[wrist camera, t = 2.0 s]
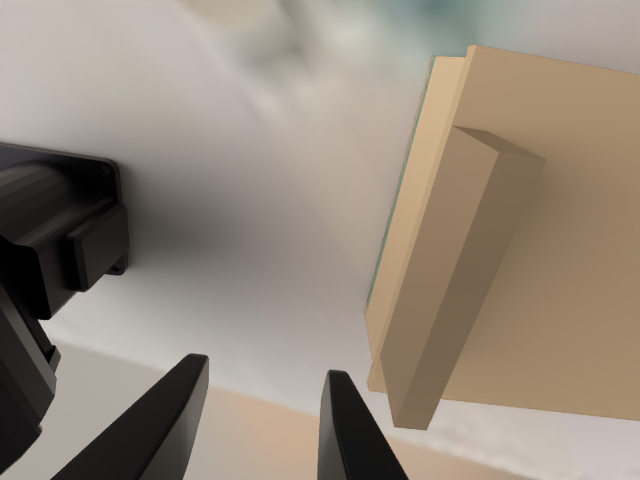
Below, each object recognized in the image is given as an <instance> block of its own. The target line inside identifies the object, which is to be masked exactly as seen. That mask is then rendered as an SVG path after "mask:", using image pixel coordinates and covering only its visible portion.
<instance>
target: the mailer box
mask: <svg viewBox="0 0 640 480" xmlns="http://www.w3.org/2000/svg"><path fill="white" fill-rule="evenodd" d="M464 61H465V57H443V56H432V58H431V62H430V66H429V69H428V73H427V77H426V81H425V84H424V88H423V92H422V96H421V99H420V103H419V107H418V111H417V115H416V118H415V122H414V126H413V130H412V133H411V137H410V141H409V145H408V148H407V152H406V156H405V160H404V163H403V167H402V171H401V175H400V178H399V182H398V186H397V190H396V193H395V197H394V201H393V205H392V208H391V212H390V216H389V220H388V223H387V227H386V231H385V235H384V238H383V242H382V246H381V250H380V254H379V257H378V261H377V265H376V269H375V272H374V276H373V280H372V284H371V287H370V291H369V295H368V299H367V302H366V306H365V310H364V314H365V319H366V325H367V331H368V337H369V343H370V349H371V355H372V360H374V357H375V353H376V350H377V347H378V344H379V340H380V337H381V334H382V330H383V327H384V324H385V320H386V317H387V314H388V311H389V307H390V304H391V301H392V297H393V294H394V291H395V288H396V284H397V281H398V278H399V274H400V271H401V268H402V265H403V261H404V258H405V255H406V251H407V248H408V245H409V242H410V238H411V235H412V232H413V228H414V225H415V222H416V218H417V215H418V212H419V209H420V205H421V202H422V199H423V195H424V192H425V189H426V186H427V182H428V179H429V176H430V172H431V169H432V166H433V163H434V159H435V156H436V153H437V149H438V146H439V143H440V140H441V136H442V133H443V130H444V126H445V123H446V120H447V116H448V113H449V110H450V107H451V103H452V100H453V97H454V93H455V90H456V87H457V84H458V80H459V77H460V74H461V70H462V67H463V64H464Z"/></svg>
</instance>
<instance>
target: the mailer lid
mask: <svg viewBox="0 0 640 480" xmlns="http://www.w3.org/2000/svg"><path fill="white" fill-rule="evenodd" d="M367 383H368V390H369V391H373V392H382V393H387V394H388V399H389V404H390V409H391V414H392V419H393V424H394V427H398V428H408V429H417V430H427V428H428V426H429V423H430V421H431V419H432V417H433V414H434V412H435V410H436V408H437V406H438V403H439V401H440V399H445V400H455V401H464V402H473V403H482V404H491V405H500V406H509V407H518V408H527V409H536V410H545V411H554V412H563V413H572V414H581V415H590V416H599V417H608V418H617V419H626V420H635V421H640V75H637V74H631V73H626V72H620V71H615V70H610V69H604V68H599V67H593V66H588V65H582V64H577V63H572V62H566V61H561V60H555V59H550V58H545V57H539V56H534V55H528V54H523V53H517V52H512V51H507V50H501V49H496V48H490V47H485V46H479V45H469V47H468V51H467V54H466V57H465V61H464V64H463V67H462V70H461V74H460V77H459V80H458V84H457V87H456V90H455V93H454V97H453V100H452V103H451V107H450V110H449V113H448V116H447V120H446V123H445V126H444V130H443V133H442V136H441V140H440V143H439V146H438V149H437V153H436V156H435V159H434V163H433V166H432V169H431V172H430V176H429V179H428V182H427V186H426V189H425V192H424V195H423V199H422V202H421V205H420V209H419V212H418V215H417V218H416V222H415V225H414V228H413V232H412V235H411V238H410V242H409V245H408V248H407V251H406V255H405V258H404V261H403V265H402V268H401V271H400V274H399V278H398V281H397V284H396V288H395V291H394V294H393V297H392V301H391V304H390V307H389V311H388V314H387V317H386V320H385V324H384V327H383V330H382V334H381V337H380V340H379V344H378V347H377V350H376V353H375V357H374V360H373V363H372V367H371V370H370V373H369V376H368V380H367Z"/></svg>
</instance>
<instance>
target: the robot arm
mask: <svg viewBox="0 0 640 480" xmlns="http://www.w3.org/2000/svg"><path fill="white" fill-rule="evenodd" d="M103 166H105V167H107V168H108V169H109V171H110V174H108V173H106V172H105V171H104V169H103ZM129 247H130V245H129V234H128V223H127V212H126V206H125V205H124V203H123V202H122V195H121V185H120V174H119V168H118V166H117V165H116V163H115V162H113V161H112V160H109V159H105V158H98V157H91V156H84V155H78V154H71V153H64V152H58V151H51V150H44V149H38V148H31V147H24V146H18V145H11V144H4V143H0V475H2V474H3V473H4V472H5V471H6V470H7V469H8V468H10V467H11V466H12V465H13V464H14V463H15V462H17V461H18V460H19V459H20V458H21V457H22V456H23V455H24V454H25V452H26V451H27V450H28V449H29V448H30V447H31V446H32V444H33V443H34V442H35V441H36V440H37V439H38V437H39V436H40V434H41V432H42V427H41V425H40V422H41V421H42V419H43V417H44V416H45V414H46V412H47V410H48V408H49V406H50V404H51V402H52V400H53V399H54V397H55V389H56V379H57V378H56V376H55V375H54V374H55V371H56V368H57V366H58V363H59V361H60V358H61V355H60V353H59V351H58V349H57V347H56V346H55V345H52V344H51V343H50V341H49V339H48V337H47V336H46V334H45V332H44V330H43V328H42V327H41V325H40V323H39V321H38V319H39V320H49V319H51V318H52V317H53V316H54V315H55V314H56V313H57V312H58V311H59V310H60V309H61V308H62V307H63V306H64V305H65V304H66V303H67V302H68V301H69V300H70V299H71V298H72V297H73V296H74V295H75V294H76V293H77V292H86V291H87V290H89V289H90V288H91V287H92V286H93V285H94V284H95V283H96V282H97V281H98V280H99V279H100V278H101V277H102V276H103V275H104V274H108V275H116V276H118V275H122V274H123V273H124V272H125V271H126V270H127V269H128V258H127V250H128V249H129ZM115 264H117V265H118V266H119V267H120V268H118V267H116V266H115ZM208 382H209V357H208V356H207V355H202V354H193V353H191V354H188V355H187V356H186V357H184V358H183V359H182V360H181V361H180V362H179V363H178V364H177V365H176V366H175V367H173V368H172V369H171V370H170V371H169V372H168V373H167V374H166V375H165V376H164V377H162V378H161V379H160V380H159V381H158V382H157V383H156V384H155V385H154V386H153V387H152V388H150V389H149V390H148V391H147V392H146V393H145V394H144V395H143V396H142V397H140V398H139V399H138V400H137V401H136V402H135V403H134V404H133V405H132V406H131V407H130V408H128V409H127V410H126V411H125V412H124V413H123V414H122V415H121V416H120V417H119V418H117V419H116V420H115V421H114V422H113V423H112V424H111V425H110V426H109V427H108V428H106V429H105V430H104V431H103V432H102V433H101V434H100V435H99V436H98V437H97V438H96V439H94V440H93V441H92V442H91V443H90V444H89V445H88V446H87V447H86V448H84V449H83V450H82V451H81V452H80V453H79V454H78V455H77V456H76V457H75V458H73V459H72V460H71V461H70V462H69V463H68V464H67V465H66V466H65V467H64V468H62V469H61V470H60V471H59V472H58V473H57V474H56V475H55V476H54V477H53V478H51V479H50V480H183V477H184V474H185V471H186V468H187V465H188V462H189V458H190V455H191V451H192V447H193V444H194V440H195V436H196V432H197V428H198V424H199V421H200V417H201V413H202V409H203V405H204V402H205V397H206V394H207V389H208ZM317 480H409V479H408V477H407V475H406V474H405V472H404V470H403V468H402V466H401V465H400V463H399V461H398V460H397V458H396V456H395V454H394V453H393V451H392V449H391V447H390V446H389V444H388V442H387V440H386V439H385V437H384V435H383V433H382V432H381V430H380V428H379V427H378V425H377V423H376V421H375V420H374V418H373V416H372V414H371V413H370V411H369V409H368V407H367V406H366V404H365V402H364V401H363V399H362V397H361V395H360V394H359V392H358V390H357V388H356V387H355V385H354V383H353V381H352V380H351V378H350V376H349V375H348V373H347V372H345V371H340V370H329V371H328V372H327V375H326V380H325V384H324V388H323V393H322V398H321V409H320V429H319V450H318V473H317Z"/></svg>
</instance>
